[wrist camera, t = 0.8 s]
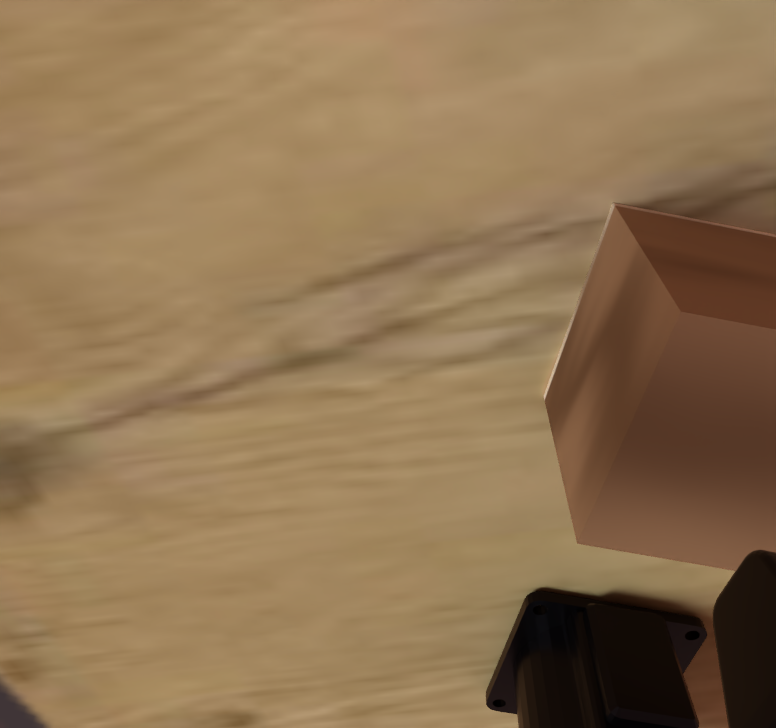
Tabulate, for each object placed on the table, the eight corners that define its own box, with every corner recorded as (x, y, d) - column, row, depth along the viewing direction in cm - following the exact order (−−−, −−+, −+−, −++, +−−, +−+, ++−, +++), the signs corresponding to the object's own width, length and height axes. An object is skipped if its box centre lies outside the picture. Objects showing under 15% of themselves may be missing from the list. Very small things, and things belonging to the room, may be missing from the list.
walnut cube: (738, 430, 22) (831, 587, 17) (543, 394, 21) (577, 543, 16) (839, 246, 19) (991, 370, 14) (612, 201, 18) (680, 311, 13)
